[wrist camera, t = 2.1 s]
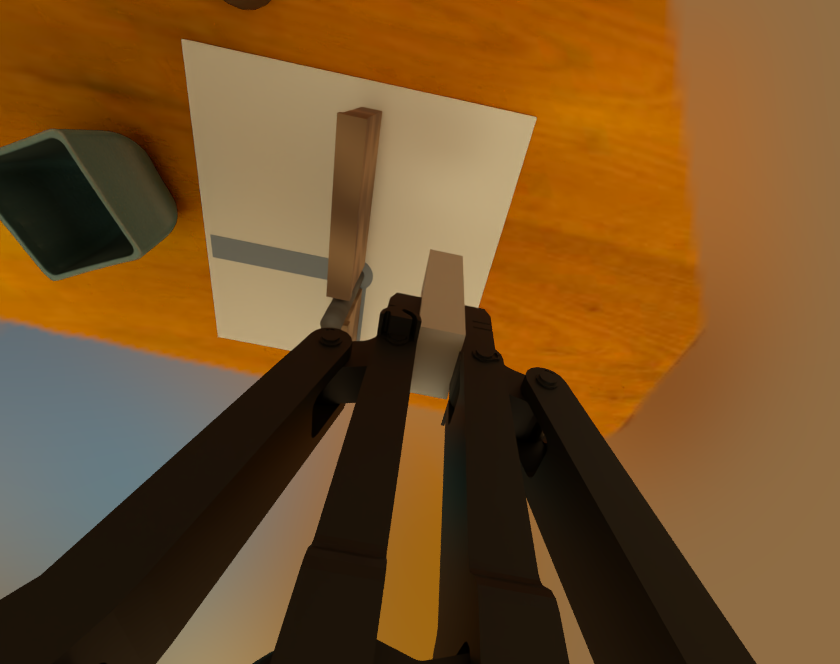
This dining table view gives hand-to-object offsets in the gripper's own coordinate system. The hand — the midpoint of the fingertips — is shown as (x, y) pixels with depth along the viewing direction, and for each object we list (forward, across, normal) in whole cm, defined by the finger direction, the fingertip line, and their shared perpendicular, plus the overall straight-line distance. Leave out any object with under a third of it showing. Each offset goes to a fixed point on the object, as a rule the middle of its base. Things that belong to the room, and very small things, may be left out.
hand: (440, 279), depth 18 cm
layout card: (+18, -8, -6) cm, 20 cm away
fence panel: (+16, -7, -1) cm, 17 cm away
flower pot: (+18, -27, -5) cm, 32 cm away
